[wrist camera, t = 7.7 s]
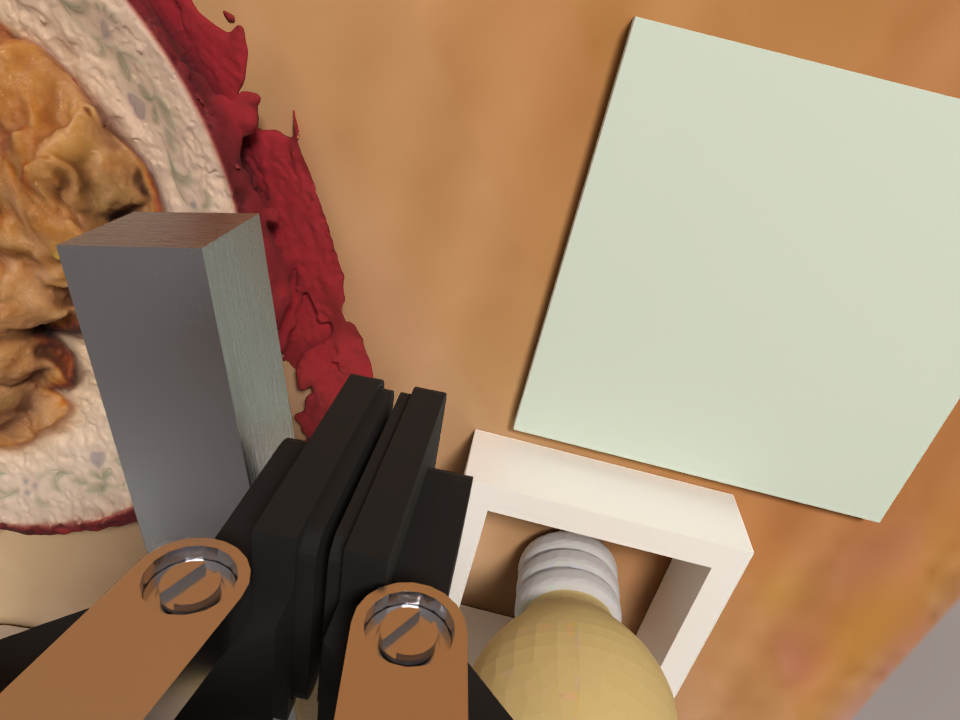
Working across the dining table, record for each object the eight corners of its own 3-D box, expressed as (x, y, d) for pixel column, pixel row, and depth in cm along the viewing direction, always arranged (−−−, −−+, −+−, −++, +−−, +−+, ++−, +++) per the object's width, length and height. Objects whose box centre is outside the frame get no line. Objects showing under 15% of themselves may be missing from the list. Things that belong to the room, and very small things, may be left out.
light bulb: (585, 463, 24) (597, 716, 15) (684, 576, 26) (745, 861, 17) (452, 541, 27) (395, 800, 18) (551, 640, 28) (545, 921, 19)
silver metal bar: (284, 213, 10) (232, 248, 9) (373, 839, 17) (353, 923, 16) (110, 211, 10) (28, 244, 9) (267, 827, 18) (236, 908, 16)
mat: (872, 511, 24) (879, 522, 23) (514, 420, 24) (513, 429, 23) (1108, 137, 18) (1125, 141, 17) (633, 16, 18) (635, 16, 17)
